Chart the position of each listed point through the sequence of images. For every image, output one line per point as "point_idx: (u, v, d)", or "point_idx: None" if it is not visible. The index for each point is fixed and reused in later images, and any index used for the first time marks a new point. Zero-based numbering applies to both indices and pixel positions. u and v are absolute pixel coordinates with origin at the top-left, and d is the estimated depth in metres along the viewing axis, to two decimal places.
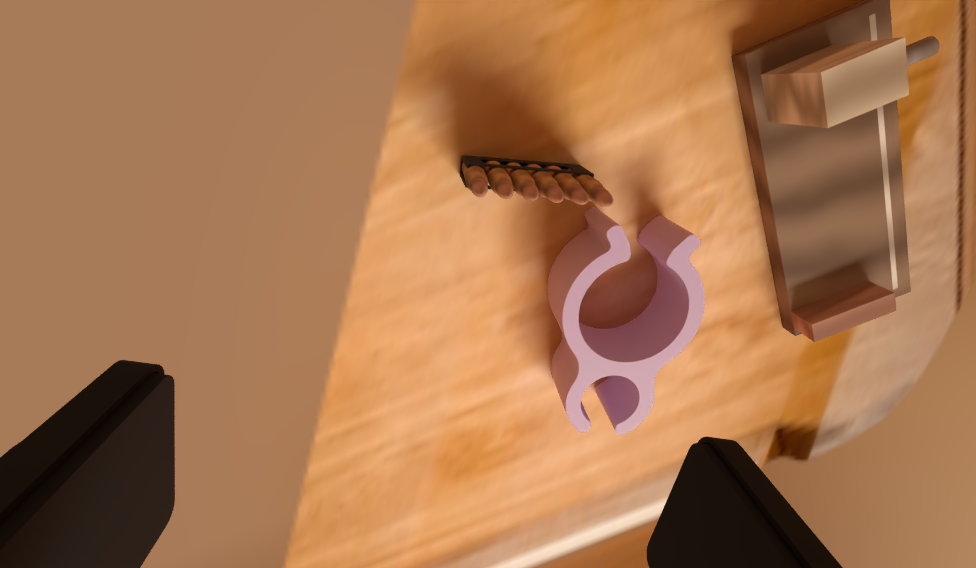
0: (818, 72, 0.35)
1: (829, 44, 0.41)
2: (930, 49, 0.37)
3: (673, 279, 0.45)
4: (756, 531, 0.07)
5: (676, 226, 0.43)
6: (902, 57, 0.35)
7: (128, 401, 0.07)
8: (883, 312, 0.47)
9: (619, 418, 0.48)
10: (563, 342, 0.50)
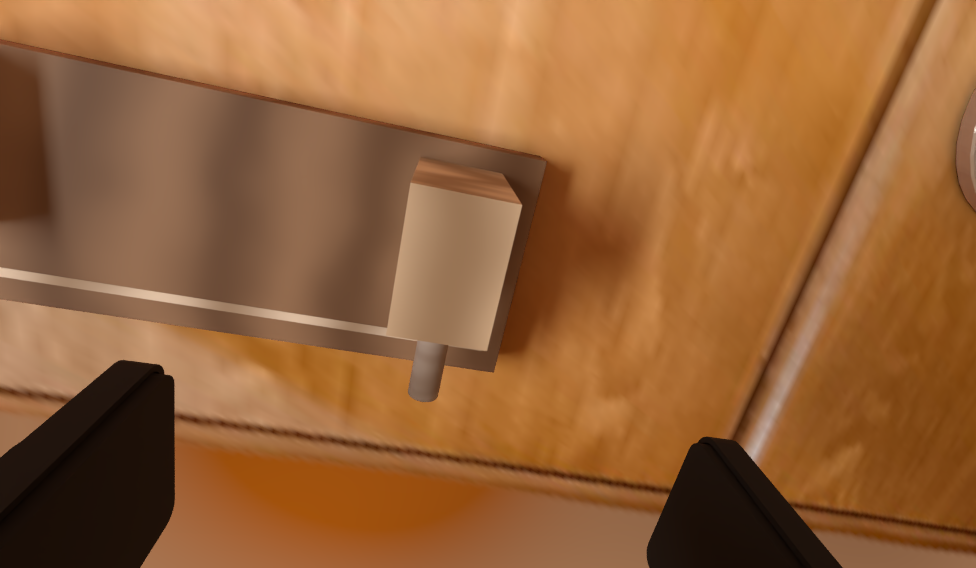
0: None
1: None
2: (423, 389, 0.22)
3: None
4: (756, 531, 0.07)
5: None
6: (457, 339, 0.20)
7: (128, 401, 0.07)
8: None
9: None
10: None
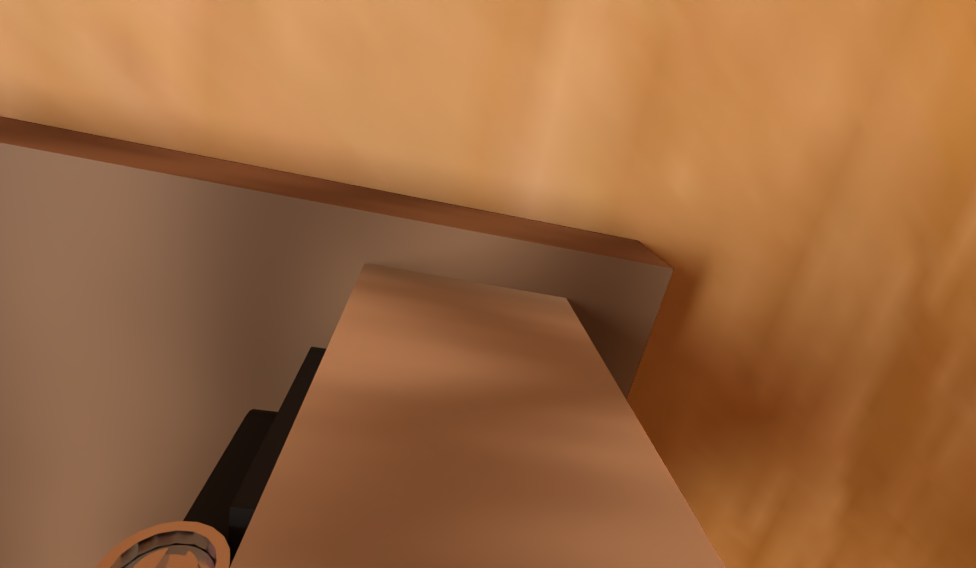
0: None
1: None
2: None
3: None
4: None
5: None
6: None
7: None
8: None
9: None
10: None
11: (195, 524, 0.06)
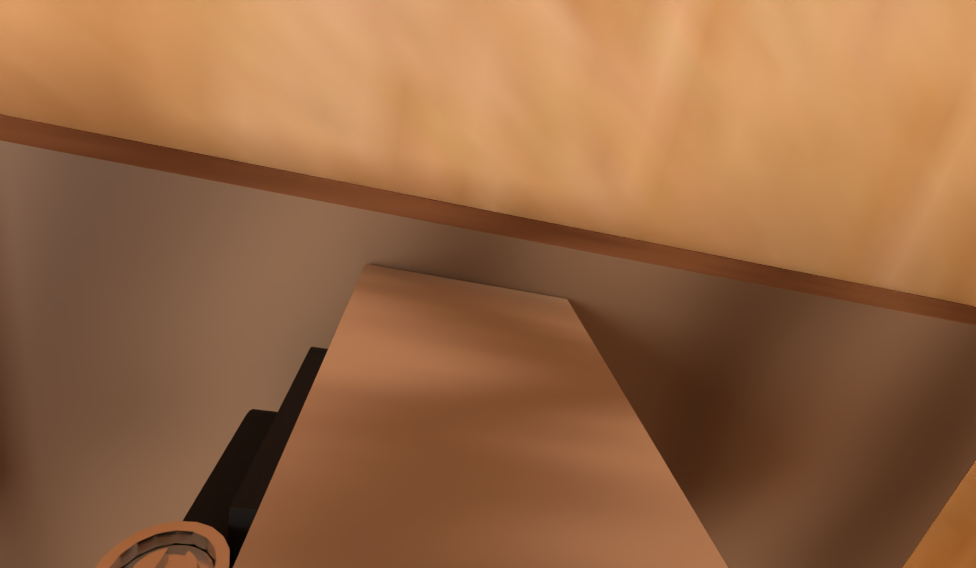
0: None
1: (852, 550, 0.14)
2: None
3: None
4: None
5: None
6: None
7: None
8: None
9: None
10: None
11: (195, 524, 0.06)
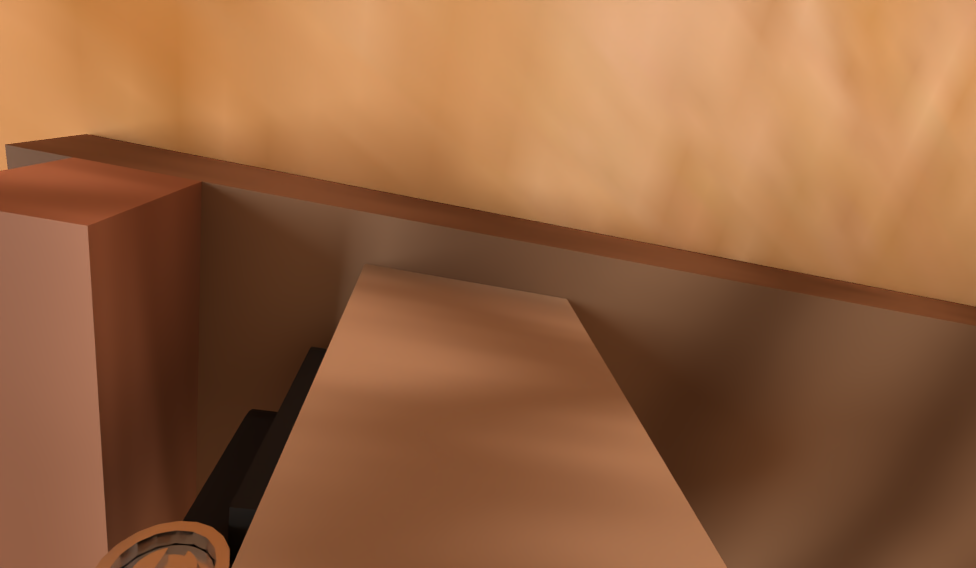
0: None
1: None
2: None
3: None
4: None
5: None
6: None
7: None
8: None
9: None
10: None
11: (194, 524, 0.06)
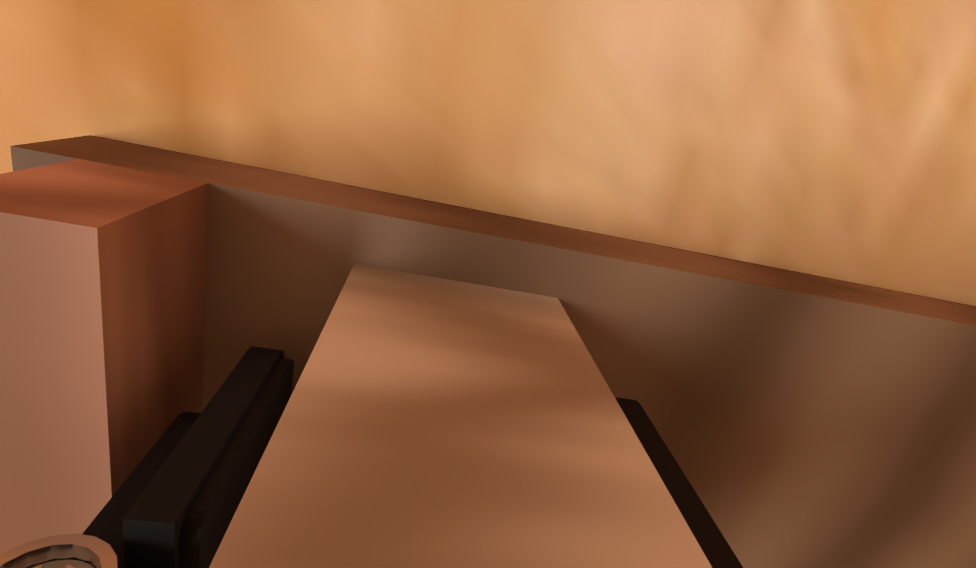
0: None
1: None
2: None
3: None
4: None
5: None
6: None
7: (269, 380, 0.08)
8: None
9: None
10: None
11: (84, 537, 0.05)
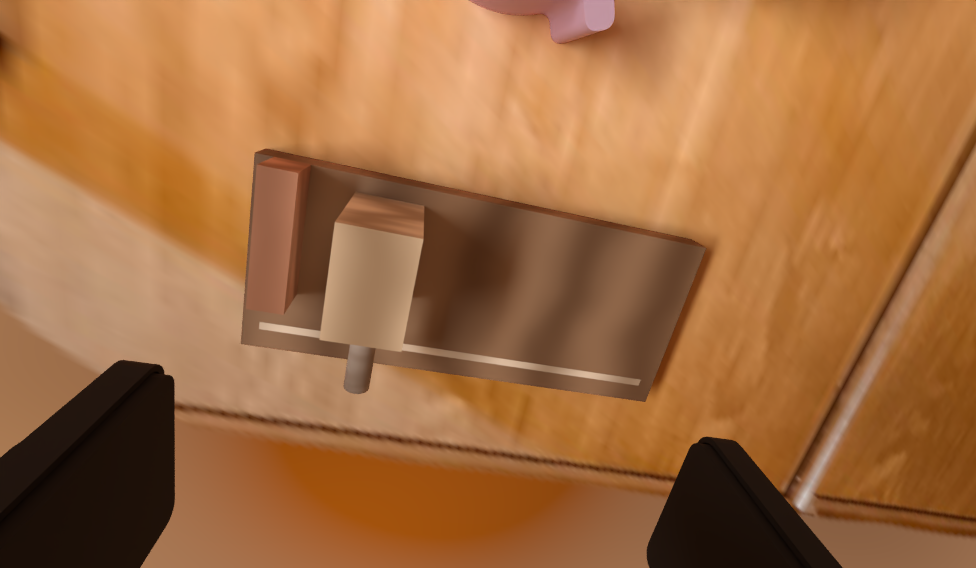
0: (422, 238, 0.23)
1: (645, 335, 0.35)
2: (355, 383, 0.28)
3: None
4: (756, 531, 0.07)
5: None
6: (376, 343, 0.25)
7: (128, 401, 0.07)
8: (253, 289, 0.27)
9: None
10: None
11: None
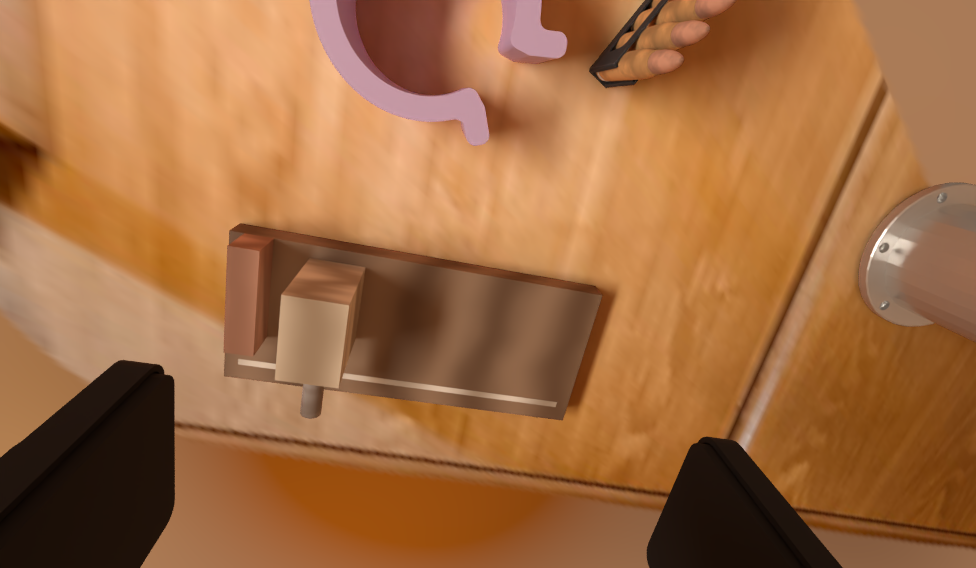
0: (349, 304, 0.31)
1: (557, 366, 0.42)
2: (308, 410, 0.35)
3: None
4: (756, 531, 0.07)
5: None
6: (319, 382, 0.32)
7: (128, 401, 0.07)
8: (229, 338, 0.35)
9: None
10: None
11: None
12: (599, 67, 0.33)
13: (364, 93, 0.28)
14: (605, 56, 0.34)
